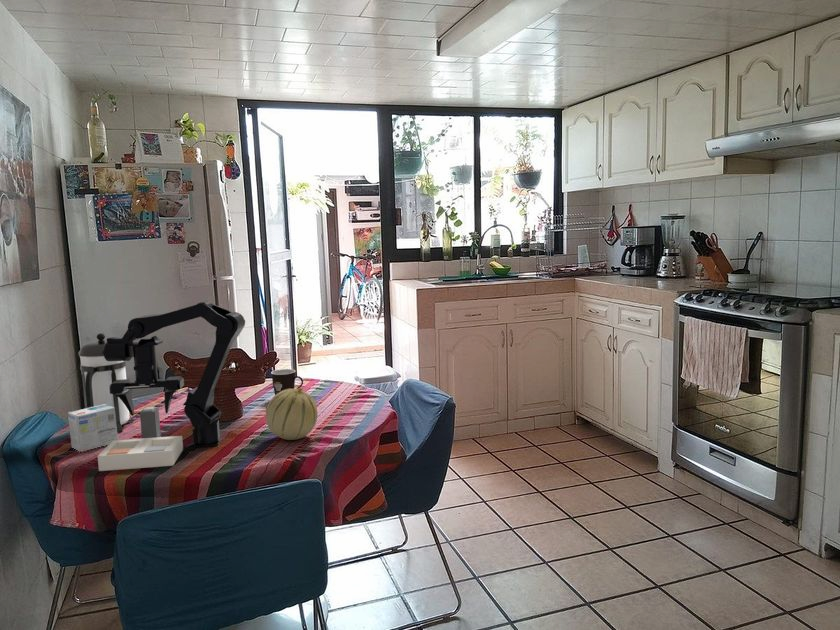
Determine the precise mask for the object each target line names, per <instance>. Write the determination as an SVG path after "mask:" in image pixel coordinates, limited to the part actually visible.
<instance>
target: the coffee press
mask: <svg viewBox="0 0 840 630" xmlns="http://www.w3.org/2000/svg"><path fill="white" fill-rule="evenodd" d="M96 339H97V340H96V341H95V340H94V341H90V342H87V343H85V344H83V345H81V348H80V350H79V351H78V356H79V358H80V364H79V366H80V367H79V368H80V371H81V379H82V388H83V389H82V391H83V398H84V400H83V401H84V409H85V408H90V407H94V406H98V405H102V404H107V405H109V406H112V407H115V416H116V426H117V434H118V433H121V432H123V426H122V425H125V424H126V423H129V424H132V423H133V422H134V419H133V416H132V415H131V414H130V412H129V410H128V409H127V407H126V406H125V404H124V403H123V402H122V400H121V399H120V398H119V397H116V396H115V394H110V390H109V387H110V385H111V384H112V383H113V382H114V381H116V380H124V379H127V370H126V366H127V361H106V359H105V358H104V354H103V351H104V348H105V345H106V343H107V339H106V336H105V334H104V333H102V332H100V333H98V334H97V335H96ZM131 416H132V417H131ZM129 419H130V421H129Z"/></svg>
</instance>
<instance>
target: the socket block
mask: <svg viewBox="0 0 840 630" xmlns="http://www.w3.org/2000/svg"><path fill="white" fill-rule="evenodd" d="M183 444H184V443H183V435H173V436H161V437H156V438H142V437H141V438H131V439H130V438H129V439H118V440H113V441H112V442H111V443H110V444H109V445H107V446H105V448H104V449H103V450H102V451H101V452H100V453H99V454H98V455H97V463H98V472H105V471H115V470H116V471H119V470H130V469H142V468H143V469H144V468H145V469H146V468H159V467H171V466H174V465H175V463H176V461H178V458H179V457H180V455H181V454H182V452H183V451H184V445H183Z"/></svg>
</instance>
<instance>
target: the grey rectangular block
mask: <svg viewBox="0 0 840 630" xmlns="http://www.w3.org/2000/svg"><path fill="white" fill-rule="evenodd" d="M139 419H140V429H141V430H140V431H141V438H156V437H162V435H161V423H160V422H161V421H160V412H159V407H155V406H146V407H144V408H142V409H141V410H140V411H139Z"/></svg>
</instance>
